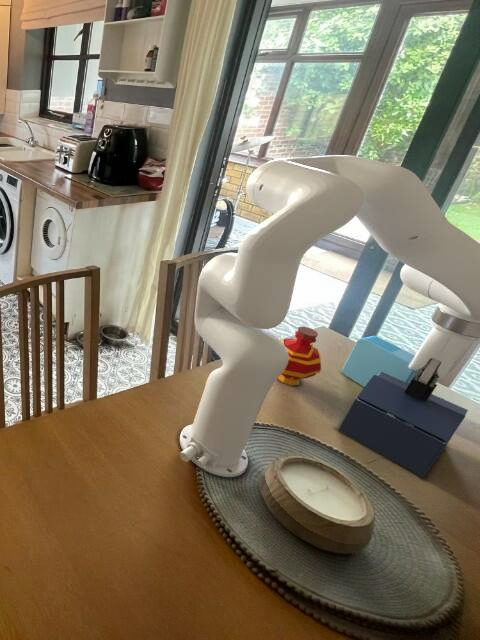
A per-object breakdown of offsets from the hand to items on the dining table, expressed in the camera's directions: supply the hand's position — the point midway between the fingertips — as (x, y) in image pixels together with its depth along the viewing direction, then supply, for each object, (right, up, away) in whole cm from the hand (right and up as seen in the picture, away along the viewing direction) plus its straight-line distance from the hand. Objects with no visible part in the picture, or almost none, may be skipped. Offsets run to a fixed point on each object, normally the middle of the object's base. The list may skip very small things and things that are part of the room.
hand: (415, 396), depth 84 cm
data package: (+12, -5, +21) cm, 24 cm away
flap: (-2, -2, 0) cm, 3 cm away
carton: (+2, -11, +6) cm, 13 cm away
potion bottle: (-8, -3, +24) cm, 25 cm away
